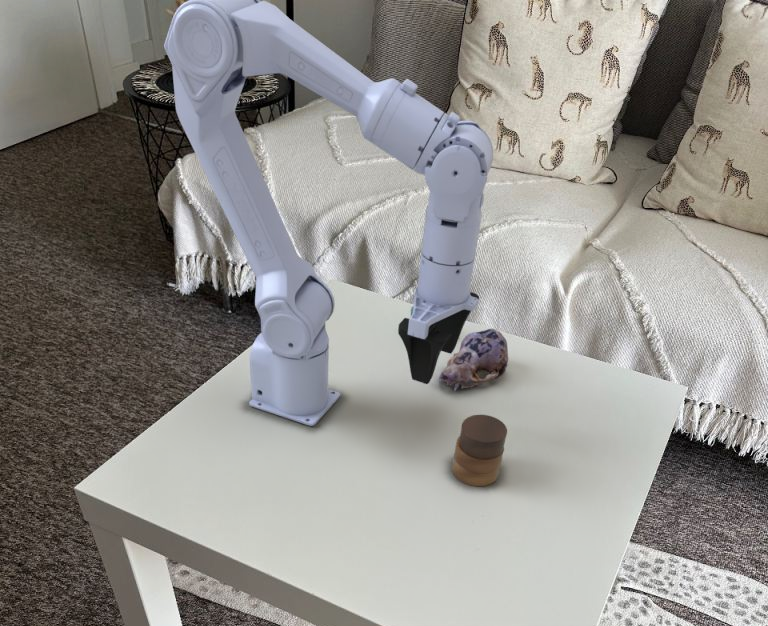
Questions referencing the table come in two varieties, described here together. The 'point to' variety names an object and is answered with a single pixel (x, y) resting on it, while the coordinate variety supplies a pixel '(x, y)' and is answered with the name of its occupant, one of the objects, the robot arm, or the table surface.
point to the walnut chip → (482, 436)
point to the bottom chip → (474, 476)
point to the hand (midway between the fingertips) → (432, 365)
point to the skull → (477, 359)
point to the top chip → (476, 461)
